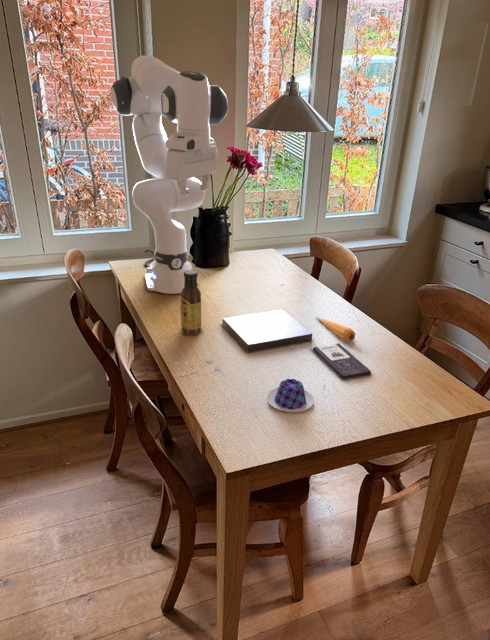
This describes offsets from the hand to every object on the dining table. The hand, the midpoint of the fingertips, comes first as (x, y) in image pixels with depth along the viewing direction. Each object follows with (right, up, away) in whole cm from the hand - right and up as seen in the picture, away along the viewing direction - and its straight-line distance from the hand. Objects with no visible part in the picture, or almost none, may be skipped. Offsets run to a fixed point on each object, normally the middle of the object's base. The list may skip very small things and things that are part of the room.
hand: (194, 192), depth 152 cm
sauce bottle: (-3, -38, +17) cm, 42 cm away
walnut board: (+21, -39, +19) cm, 47 cm away
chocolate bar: (+42, -48, +4) cm, 64 cm away
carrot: (+43, -38, +23) cm, 62 cm away
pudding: (+27, -59, -15) cm, 66 cm away
